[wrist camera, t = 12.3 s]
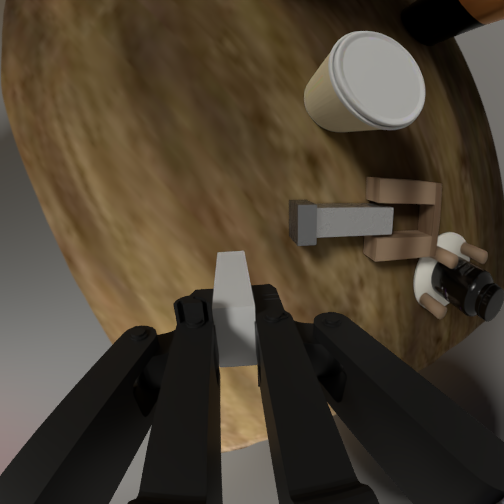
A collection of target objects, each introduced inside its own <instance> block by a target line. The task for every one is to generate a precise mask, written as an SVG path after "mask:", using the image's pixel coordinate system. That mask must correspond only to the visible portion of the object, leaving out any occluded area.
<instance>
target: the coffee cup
mask: <svg viewBox="0 0 504 504" xmlns="http://www.w3.org/2000/svg"><path fill="white" fill-rule="evenodd" d="M424 101H425V84H424V80H423V76H422V73H421V71H420V69H419V67H418V65H417V63H416V62H415V60H414V59H413V57H412V56H411V55H410V53H409V52H408V51H407V50H406V49H405V48H404V47H403V46H401V45H400V44H399V43H398V42H396V41H395V40H393V39H392V38H390V37H388V36H386V35H383V34H381V33H377V32H372V31H357V32H352V33H349V34H347V35H345V36H343V37H342V38H341V39H339V40H338V41H337V43H336V44H335V45H334V47H333V49H332V50H331V52H330V54H329V55H328V56H327V58H326V59H325V60H324V62H323V63H322V64H321V66H320V67H319V68H318V70H317V71H316V72H315V74H314V75H313V77H312V78H311V79H310V81H309V83H308V84H307V86H306V89H305V92H304V103H305V107H306V110H307V112H308V114H309V115H310V117H311V118H312V119H313V120H314V121H315V122H316V123H317V124H318V125H319V126H321V127H322V128H324V129H327V130H329V131H333V132H353V131H366V130H381V129H382V130H397V129H401V128H404V127H406V126H408V125H410V124H411V123H412V122H413V121H414V120H415V119H416V118H417V117H418V115H419V113H420V112H421V110H422V108H423V105H424Z"/></svg>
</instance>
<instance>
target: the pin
mask: <svg viewBox="0 0 504 504" xmlns="http://www.w3.org/2000/svg"><path fill="white" fill-rule="evenodd" d="M393 210H394V208H393V207H390V206H387V205H383V204H367V203H340V204H315V203H312V202H310V201H308V200H289V236H290V237H291V239H292V240H293V241H294V242H295V243H296V244H297V246H305V245H316V241H317V238H320V237H341V236H364V235H388V234H392V225H393Z"/></svg>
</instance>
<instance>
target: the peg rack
mask: <svg viewBox="0 0 504 504" xmlns="http://www.w3.org/2000/svg"><path fill="white" fill-rule="evenodd" d="M458 256H459V257H461V258H463V259H465V260H467V261H469V262H470V258H471V259H473V260H475V261H477V262H479V263H481V264H484V263H485V262H486V261H487V258H488V253H487V252H486V251H484V250H482V249H480V248H478V247H475V246H473V245H471V244H469V243H466V241H465V239H464V238H463V237H462V236H460V235H459V234H456V233H453V232H445V233H442V234H440V235H438V241H437V248H436V255H435V256H431V257H421V258H420V259H419V261H418V263H417V266H416V269H415V274H414V280H413V289H414V294H415V297H416V299H417V301H418V302H419V304H420V305H422V306H423V307H424V308H426V309H427V310H428V311H430V312H431V313H432V314H433V315H434V316H436V317H437V318H438V319H442V318H443V317H444V316H445V315H446V313H447V308H446V307H445V306H446V305H447V304H448V303H449V302H448V301H447V300H445V299H444V298H443V297H441V296H440V295H439V294H437V293H436V292H435V291H434V290H433V288H432V285H431V276H432V272H433V269H434V267H435V265H436V263H437V262H440V263H442V264H444V265H446V266H447V267H449V268H451V269H453V268H455V267H456V266H457V264H458Z"/></svg>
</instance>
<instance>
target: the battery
mask: <svg viewBox="0 0 504 504" xmlns="http://www.w3.org/2000/svg"><path fill="white" fill-rule="evenodd" d="M401 18H402V22H403V24H404V26H405V28H406V29H407V31H408V32H409V33H410V34H411V35H412V36H413V37H414V38H415V39H416V40H417V41H419V42H420V43H422V44H424V45H427V46H433V45H435V44H438V43H440V42H442V41H445V40H447V39H449V38H452V37H454V36H457V35H459V34H462V33H465V32H467V31H470V30H473V29H475V28H478V27H481V26H484V25H487V24H490V23H493V22H496V21H499V20H502V19H504V0H417V1H415V2H414V3H412V4H411V5H409V6H408V7H407V8H405V9H404V10H403V11H402V14H401Z"/></svg>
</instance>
